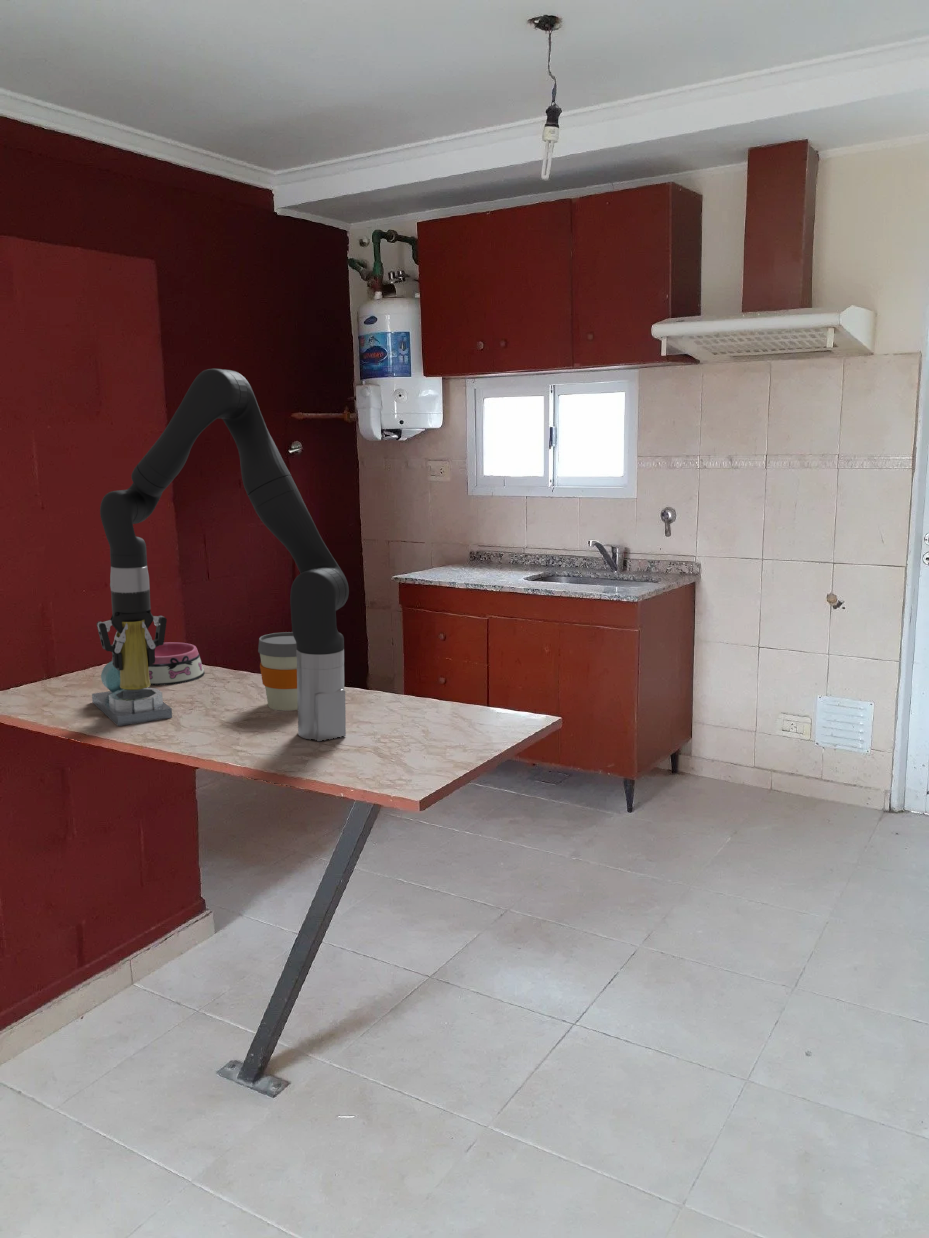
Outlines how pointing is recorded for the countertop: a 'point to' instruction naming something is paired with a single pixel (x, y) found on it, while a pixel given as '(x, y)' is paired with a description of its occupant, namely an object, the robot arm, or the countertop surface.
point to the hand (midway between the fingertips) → (134, 667)
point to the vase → (134, 658)
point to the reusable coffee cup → (279, 670)
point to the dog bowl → (175, 664)
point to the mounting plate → (128, 716)
